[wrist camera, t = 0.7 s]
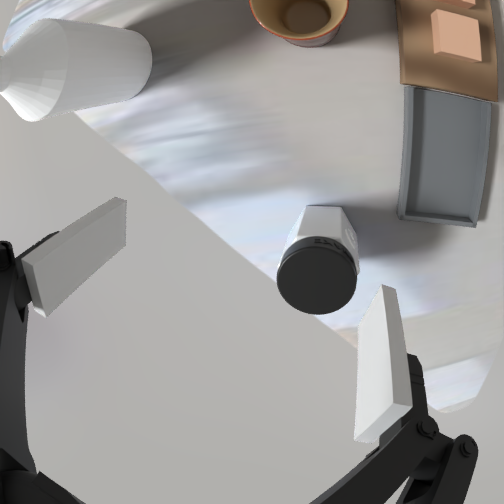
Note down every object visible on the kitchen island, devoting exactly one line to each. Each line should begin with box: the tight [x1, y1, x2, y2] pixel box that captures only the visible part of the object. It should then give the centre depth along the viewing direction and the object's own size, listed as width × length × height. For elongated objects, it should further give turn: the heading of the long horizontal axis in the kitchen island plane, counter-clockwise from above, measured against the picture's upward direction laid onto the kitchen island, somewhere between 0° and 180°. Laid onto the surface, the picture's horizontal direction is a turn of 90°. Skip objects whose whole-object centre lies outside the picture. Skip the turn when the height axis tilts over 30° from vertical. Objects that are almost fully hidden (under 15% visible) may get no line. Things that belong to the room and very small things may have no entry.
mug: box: [249, 0, 349, 48], centre depth 24 cm, size 12×9×10 cm
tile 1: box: [431, 9, 482, 63], centre depth 21 cm, size 5×5×2 cm
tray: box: [397, 86, 491, 228], centre depth 31 cm, size 16×11×2 cm
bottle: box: [0, 18, 153, 121], centre depth 26 cm, size 12×12×25 cm
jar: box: [277, 206, 360, 315], centre depth 36 cm, size 9×8×12 cm
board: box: [395, 0, 498, 102], centre depth 22 cm, size 18×12×3 cm, turn 3°
